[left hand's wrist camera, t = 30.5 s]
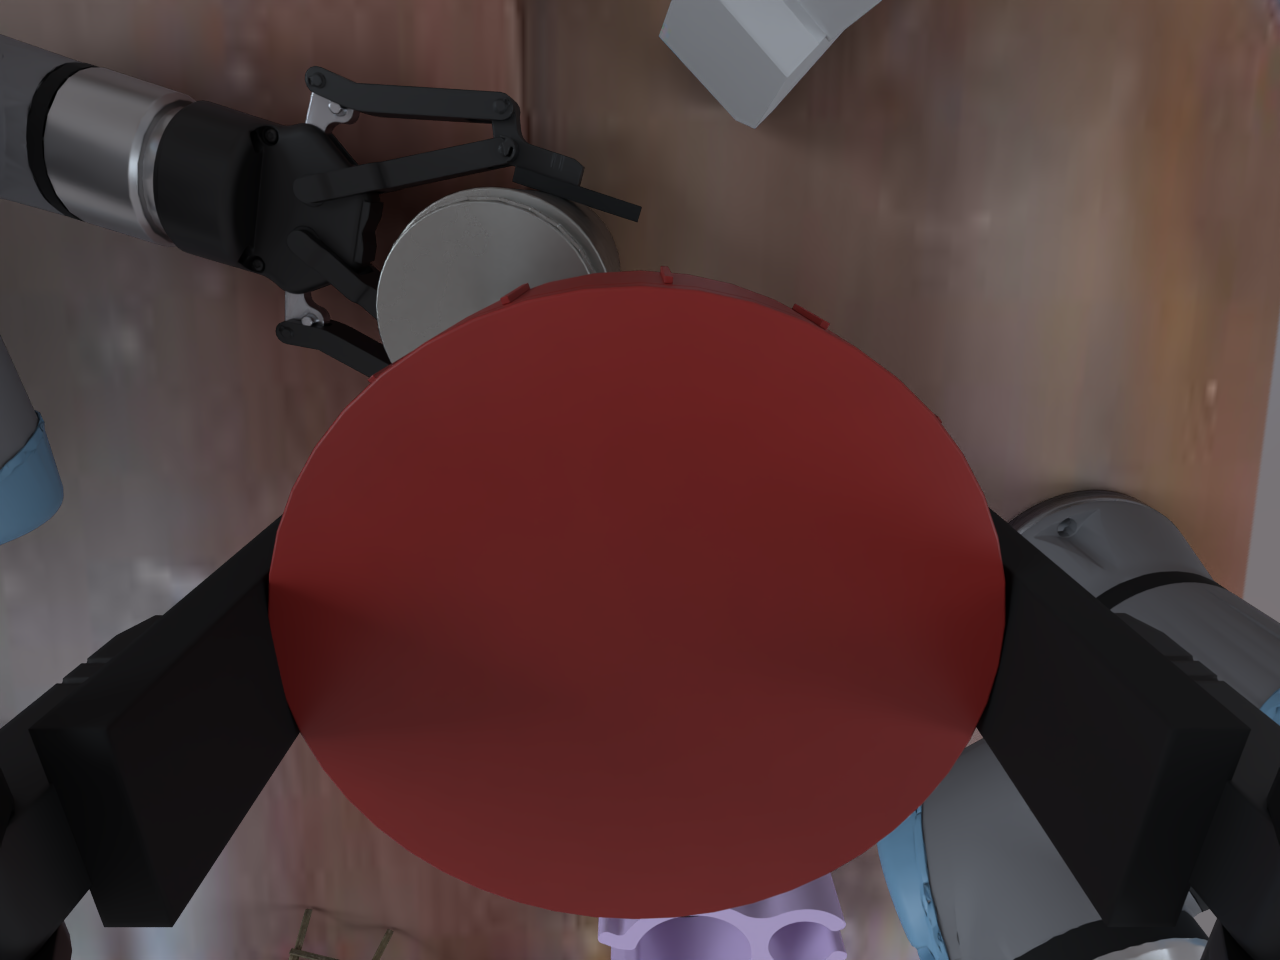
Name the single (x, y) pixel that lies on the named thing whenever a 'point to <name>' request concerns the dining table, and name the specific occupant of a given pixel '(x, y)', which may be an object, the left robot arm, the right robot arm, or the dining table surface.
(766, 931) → the clip
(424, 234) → the jar
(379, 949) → the dark tall lattice tower
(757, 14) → the electronic device
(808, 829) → the lid
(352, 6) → the dining table surface
